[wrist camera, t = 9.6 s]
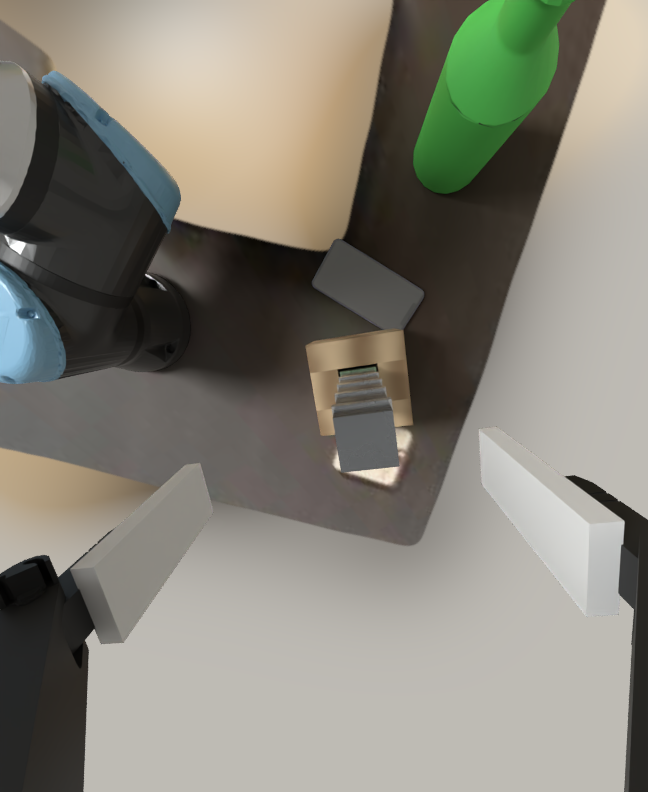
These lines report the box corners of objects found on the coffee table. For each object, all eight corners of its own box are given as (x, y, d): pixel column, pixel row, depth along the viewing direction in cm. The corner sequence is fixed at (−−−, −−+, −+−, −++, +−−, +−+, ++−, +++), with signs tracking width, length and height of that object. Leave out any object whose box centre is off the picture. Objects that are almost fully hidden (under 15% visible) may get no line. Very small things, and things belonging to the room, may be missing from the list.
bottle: (489, 178, 41) (687, -27, 17) (424, 208, 42) (518, 58, 18) (470, 105, 39) (658, -241, 15) (402, 138, 41) (476, -129, 17)
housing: (326, 416, 50) (319, 440, 40) (314, 341, 48) (303, 346, 38) (402, 406, 49) (415, 428, 39) (393, 328, 46) (405, 330, 36)
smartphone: (336, 235, 44) (427, 292, 44) (336, 237, 45) (426, 292, 45) (309, 285, 46) (397, 339, 46) (310, 286, 47) (396, 338, 47)
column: (345, 399, 43) (338, 475, 22) (341, 367, 42) (329, 415, 21) (377, 394, 43) (402, 468, 21) (373, 362, 42) (395, 407, 21)
